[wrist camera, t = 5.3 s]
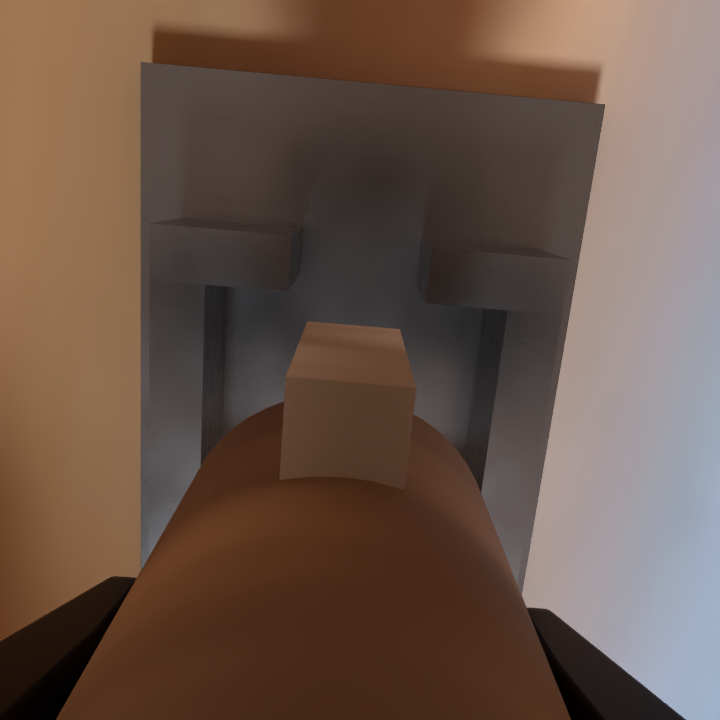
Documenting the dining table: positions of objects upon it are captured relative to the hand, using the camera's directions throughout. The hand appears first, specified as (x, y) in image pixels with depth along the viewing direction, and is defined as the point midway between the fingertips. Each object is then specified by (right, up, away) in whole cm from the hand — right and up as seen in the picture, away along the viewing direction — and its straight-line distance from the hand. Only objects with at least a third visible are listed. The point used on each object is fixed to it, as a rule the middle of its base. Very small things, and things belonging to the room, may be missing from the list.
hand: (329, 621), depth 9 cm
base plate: (0, +3, +9) cm, 10 cm away
